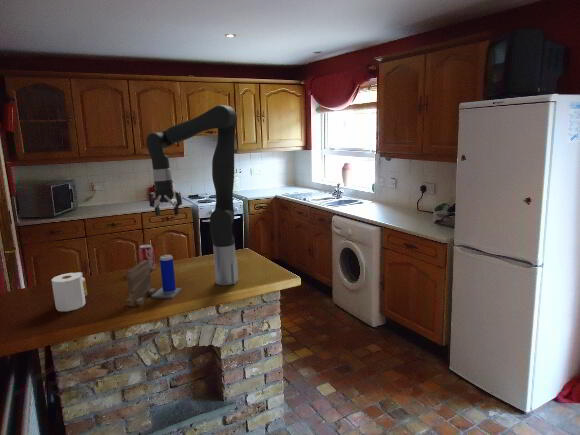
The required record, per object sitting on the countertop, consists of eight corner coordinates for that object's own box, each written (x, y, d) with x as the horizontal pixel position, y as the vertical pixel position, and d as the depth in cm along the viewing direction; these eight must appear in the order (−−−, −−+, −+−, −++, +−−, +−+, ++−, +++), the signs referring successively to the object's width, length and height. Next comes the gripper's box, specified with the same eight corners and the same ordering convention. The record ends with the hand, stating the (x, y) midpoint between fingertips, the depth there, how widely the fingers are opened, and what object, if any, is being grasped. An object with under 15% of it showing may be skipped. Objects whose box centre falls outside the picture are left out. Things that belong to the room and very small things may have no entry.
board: (156, 292, 178) (153, 260, 175) (140, 306, 164) (136, 271, 161) (143, 292, 179) (139, 260, 176) (125, 305, 165) (121, 271, 162)
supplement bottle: (90, 294, 179) (87, 272, 176) (80, 299, 174) (76, 276, 172) (80, 292, 180) (76, 271, 178) (69, 297, 175) (66, 275, 173)
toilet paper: (50, 308, 165) (45, 279, 162) (75, 299, 174) (71, 271, 171) (66, 313, 160) (61, 283, 157) (91, 303, 169) (87, 274, 166)
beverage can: (178, 289, 178) (175, 255, 175) (170, 294, 173) (166, 258, 170) (168, 287, 180) (165, 254, 177) (160, 292, 176) (156, 257, 172)
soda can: (158, 267, 211) (155, 243, 208) (152, 271, 204) (149, 247, 201) (144, 267, 211) (141, 243, 209) (138, 271, 205) (135, 247, 202)
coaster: (181, 289, 180) (181, 288, 180) (172, 298, 171) (172, 296, 171) (161, 289, 181) (161, 287, 181) (151, 297, 172) (151, 295, 172)
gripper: (181, 177, 187) (186, 213, 190) (151, 178, 189) (156, 214, 193) (174, 179, 180) (178, 217, 183) (143, 181, 182) (148, 217, 186)
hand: (167, 215), depth 188 cm, fingers open, 8 cm apart
